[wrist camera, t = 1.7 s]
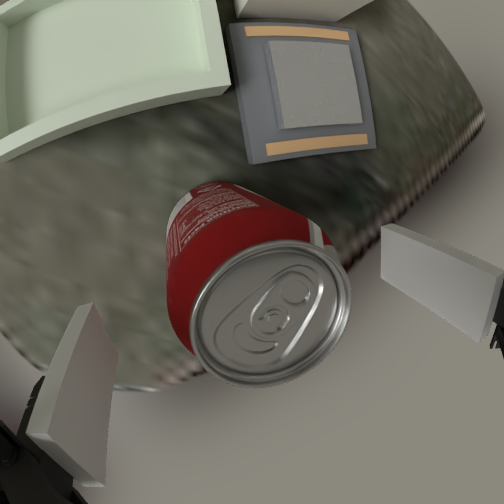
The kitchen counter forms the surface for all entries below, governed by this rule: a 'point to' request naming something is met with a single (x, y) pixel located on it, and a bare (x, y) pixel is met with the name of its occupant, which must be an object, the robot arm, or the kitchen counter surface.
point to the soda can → (252, 286)
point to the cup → (298, 9)
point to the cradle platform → (312, 84)
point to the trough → (101, 63)
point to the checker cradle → (262, 102)
